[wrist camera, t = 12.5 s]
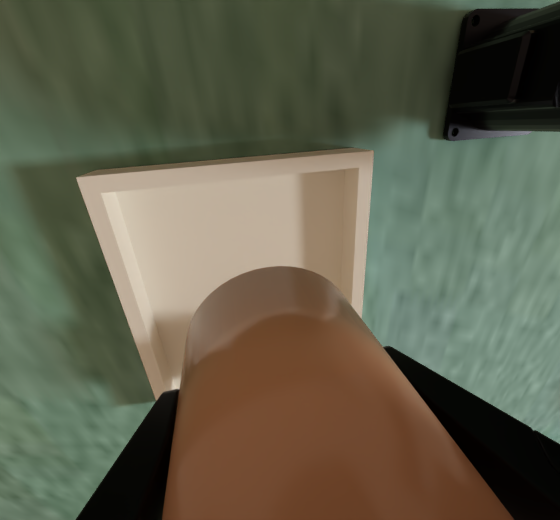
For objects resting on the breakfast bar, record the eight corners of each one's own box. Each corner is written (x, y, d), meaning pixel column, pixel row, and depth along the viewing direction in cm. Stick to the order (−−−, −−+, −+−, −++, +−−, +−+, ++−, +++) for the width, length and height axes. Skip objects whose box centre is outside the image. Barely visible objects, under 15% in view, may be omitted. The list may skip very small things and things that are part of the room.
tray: (353, 147, 18) (373, 150, 15) (343, 362, 25) (356, 385, 23) (96, 169, 15) (75, 177, 13) (171, 399, 23) (166, 428, 21)
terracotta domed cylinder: (347, 383, 11) (475, 629, 6) (203, 415, 10) (189, 741, 5) (355, 253, 9) (589, 464, 3) (167, 281, 8) (60, 631, 2)
